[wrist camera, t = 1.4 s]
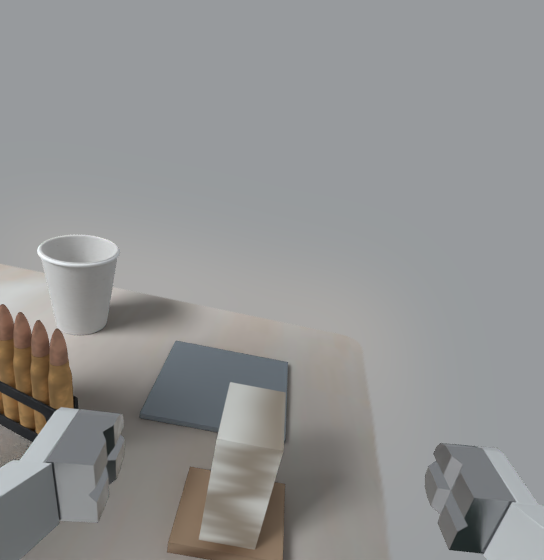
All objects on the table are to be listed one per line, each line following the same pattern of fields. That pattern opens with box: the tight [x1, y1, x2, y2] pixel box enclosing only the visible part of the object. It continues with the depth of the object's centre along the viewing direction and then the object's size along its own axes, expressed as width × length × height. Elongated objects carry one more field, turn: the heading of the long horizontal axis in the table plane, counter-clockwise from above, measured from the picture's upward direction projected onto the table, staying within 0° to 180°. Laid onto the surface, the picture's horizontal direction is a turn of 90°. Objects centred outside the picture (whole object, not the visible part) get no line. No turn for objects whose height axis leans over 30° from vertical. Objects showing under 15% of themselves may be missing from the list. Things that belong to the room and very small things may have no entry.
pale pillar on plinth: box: [167, 382, 286, 560], centre depth 27 cm, size 8×6×11 cm
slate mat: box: [140, 341, 288, 443], centre depth 42 cm, size 14×12×1 cm
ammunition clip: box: [0, 304, 78, 442], centre depth 31 cm, size 11×2×12 cm, turn 68°
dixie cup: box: [37, 235, 120, 335], centre depth 46 cm, size 8×8×10 cm
